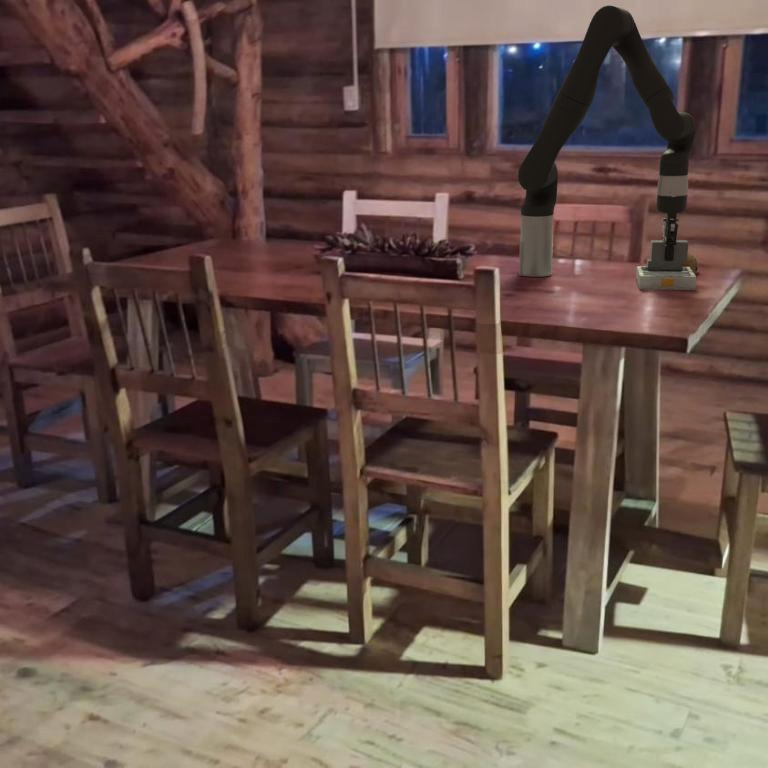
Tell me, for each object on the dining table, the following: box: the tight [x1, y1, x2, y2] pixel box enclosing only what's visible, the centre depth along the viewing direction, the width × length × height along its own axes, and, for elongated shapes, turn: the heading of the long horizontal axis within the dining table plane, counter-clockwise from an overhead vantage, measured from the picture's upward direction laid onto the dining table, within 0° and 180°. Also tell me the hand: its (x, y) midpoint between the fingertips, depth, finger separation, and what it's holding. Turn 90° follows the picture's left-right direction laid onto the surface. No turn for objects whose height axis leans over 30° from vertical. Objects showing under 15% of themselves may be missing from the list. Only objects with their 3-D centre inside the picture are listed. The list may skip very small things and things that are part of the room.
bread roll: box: [683, 252, 699, 275], centre depth 251 cm, size 10×10×8 cm
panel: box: [649, 239, 689, 262], centre depth 230 cm, size 9×4×5 cm, turn 78°
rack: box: [635, 258, 697, 291], centre depth 235 cm, size 14×16×6 cm
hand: (668, 259), depth 231 cm, fingers closed on panel, 4 cm apart
